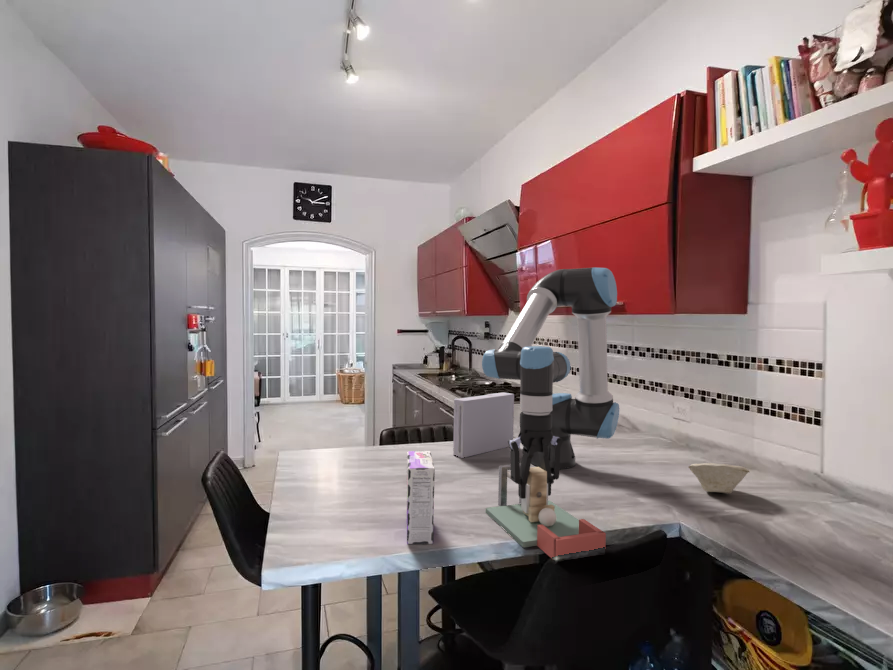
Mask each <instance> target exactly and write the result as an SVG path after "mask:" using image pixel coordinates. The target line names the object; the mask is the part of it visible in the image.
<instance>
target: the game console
mask: <svg viewBox="0 0 893 670" xmlns="http://www.w3.org/2000/svg"><path fill="white" fill-rule="evenodd" d="M514 410H515V394H514V393H509V392H504V391H503V392H498V393H497V392H496V393H488V394H484V395H475V396H467V397H461V398H454V399H453V444H452V445H453V446H452V451H453V453H452V454H453V456H454V455H456V456H455V457H457V456H458V458H462V459H463V458H464V457H465V458H468V457H473V456H475V455H480V454H484V453H485V454H486V453H489V452H492V451H496V450H501V449H505V448H510V447H509V444H508V440H510V439H511V440H514V421H515V417H514V416H515V415H514V413H515V411H514Z"/></svg>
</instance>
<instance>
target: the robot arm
mask: <svg viewBox="0 0 893 670" xmlns="http://www.w3.org/2000/svg"><path fill="white" fill-rule="evenodd" d="M617 289H618V288H617V282H616V278H615V275H614V274H613V271H611V270H610V269H609V268H607V267H596V266H595V267H581V268H562V269H561V268H560V269H557V270H554V271H552V272H549V273H548V274H545V275H544V276H543V277H541V278H540V279H539V280H538V281H536V282H535V284H533V286H532V287H531V289H530V290H529V292H528V293H527V296H526V303H525V305H524V306H523V308H522V309H521V311H520V313H518V316H517V317H516V319H515V321H514V322H513V324H512V326H511V328H510V329H509V331H508V332H507V334H506V335H505V338H504V339H503V340H502V342H501V344H500V345H499V347H497V349H496V348H493V349H488V350H486V351H485V352H484V353H483V356H482V358H481V359H482V360H481V368H482V372H483V374H484V375H485V376H486V377H488V378H493V379H498V380H500V379H503V380H514V381H515V380H517V381H520V387H519V388H520V390H519V392H520V393H519V394H520V397H519V410H520V411H521V412H520V413H519V430H520V431H519V433H518V435H517V437H516V438H513V440H511V439H510V440H508V444H509V447H508V448H509V450H510V451H509V452H510V453H509V456H510V458H509V459H510V465H511V470H510V472H511V479H510V480H511V481H512V482H513V483H515V484H517V485H518V493H517V495H518V497H520V498H521V509H522V510H523V511H524V512H525V513H526V514H527V513H529V505H530V485H528V484H527V480H528V475H529V470H530V468H531V464H532V465H534V466H535V467H540V468H541V469H543V470H545V471H547V495H546V505H548V501H549V496H551V494H552V485H553V484H554V482H555V480H556V481H557V480H559V478H560V470H561V469H562V470H563V469H570V468H573V467H575V466H576V456H575V452H574V448H573V444H572V442H571V440H572V439H571V435H574V436H581V437H587V438H588V437H589V438H593V439H594V438H595V439H611V438H613V436H614V435H615V433H616V430H617V427H618V423H619V422H618V421H619V418H620V403H619V402H616V401H614V395H613V394H612V393H611V392H609V387H608V386H609V385H608V344H607V343H608V342H607V316H609V315H610V314H611V313H612V307H615V306H616V305H617V302H618V290H617ZM558 307H571V314H573V316H575V317H576V321H577V322H576V323H577V324H576V325H577V345H578V349H577V350H578V373H579V374H578V375H579V379H578V381H579V390H578V392H577V393H576V394H575V395H574V398H573V396H572V394H571V393H568V392H567V393H566V392H559V393H558V392H557V393H553V388H554V383H558V382H561V381H563V380H564V379H566V378H567V377H568V375H570V372H571V367H572V366H571V362H570V359H569V358H568V356H566V355H565V354H564V353H563V352H559V351H554V350H553V348H552V347H551V346H543V345H542V346H541V345H539V346H538V345H533V344H534V342H535V341H536V339H537V337H538V335H539V333H540V332H541V329H542V328H543V325H544V324H545V322H546V320H547V319H548V316H549V315H550V314H552V313H553V312H554V311H555V310H556V309H557V308H558ZM532 345H533V346H532ZM520 444H521V445H522V451H521V452H522V457H521V459H520V448H521V445H520ZM520 460H521V461H520ZM520 464H521V466H520Z"/></svg>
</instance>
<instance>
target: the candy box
mask: <svg viewBox="0 0 893 670" xmlns="http://www.w3.org/2000/svg"><path fill="white" fill-rule="evenodd" d="M435 469H436V468H435V466H434V459H433V456H432V452H431V450H417V451H416V450H414V451H413V450H410V451H409V450H408V451H407V452H406V491H407V492H406V544H407V545H433V544H434V515H435V514H434V511H435V508H434V505H435V504H434V503H435V479H436V477H435V475H436V474H435V473H436V471H435Z"/></svg>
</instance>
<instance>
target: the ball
mask: <svg viewBox="0 0 893 670" xmlns="http://www.w3.org/2000/svg"><path fill="white" fill-rule="evenodd" d="M538 518H539V521H540V523H541V524H543V525H544V526H546V527H550V526H552V525H554V524H555V522H556V514H555V512H554V511H553V510H552V509H550V508H544V509H542V510H541V511H540V512H539V515H538Z"/></svg>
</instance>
